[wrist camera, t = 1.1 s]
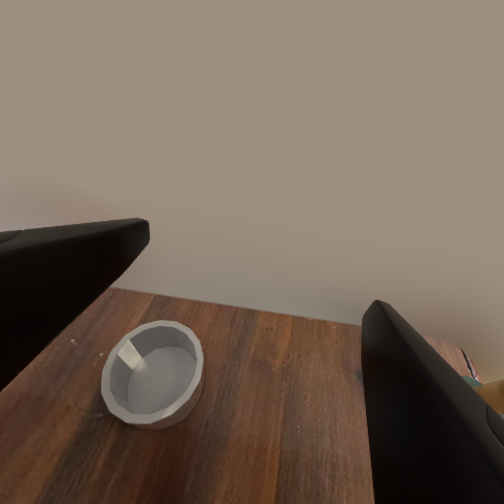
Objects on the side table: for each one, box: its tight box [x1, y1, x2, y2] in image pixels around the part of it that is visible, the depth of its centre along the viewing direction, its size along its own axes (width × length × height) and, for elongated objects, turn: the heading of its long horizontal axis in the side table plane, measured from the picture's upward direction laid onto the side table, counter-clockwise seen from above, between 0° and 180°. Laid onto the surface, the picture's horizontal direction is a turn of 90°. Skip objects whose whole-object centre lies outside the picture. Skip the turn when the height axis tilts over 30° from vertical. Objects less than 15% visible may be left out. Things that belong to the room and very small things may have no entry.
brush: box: [461, 376, 504, 419], centre depth 17 cm, size 4×4×11 cm
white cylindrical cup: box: [101, 320, 205, 430], centre depth 18 cm, size 7×7×5 cm
